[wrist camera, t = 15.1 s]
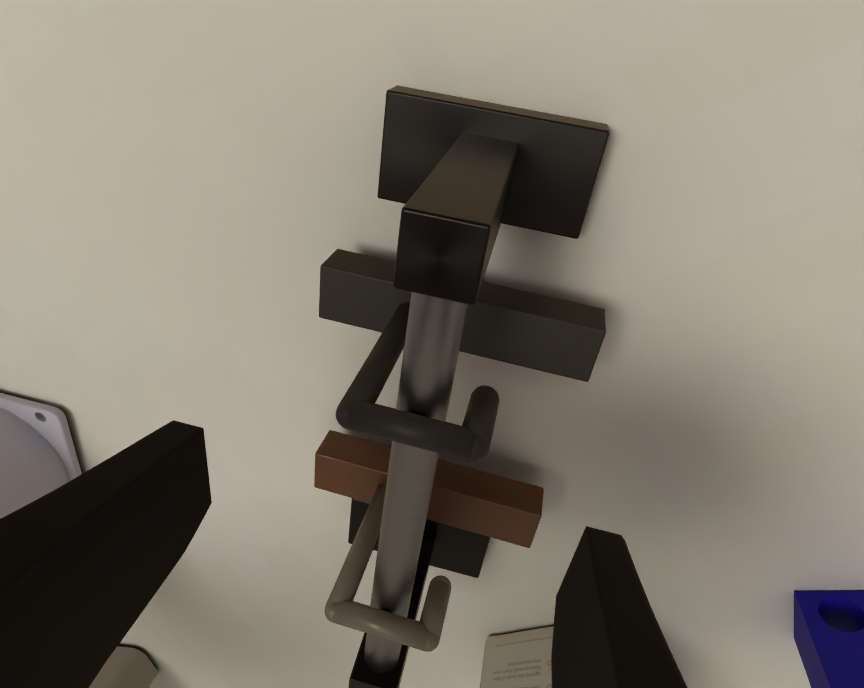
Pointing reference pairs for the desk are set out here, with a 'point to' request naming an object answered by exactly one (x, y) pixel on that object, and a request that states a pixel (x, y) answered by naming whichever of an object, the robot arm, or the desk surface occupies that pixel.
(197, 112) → the desk surface
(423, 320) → the rail stand
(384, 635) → the walnut hanger
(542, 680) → the small box
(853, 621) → the blue curved cradle bracket
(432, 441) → the black hanger
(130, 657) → the power adapter
